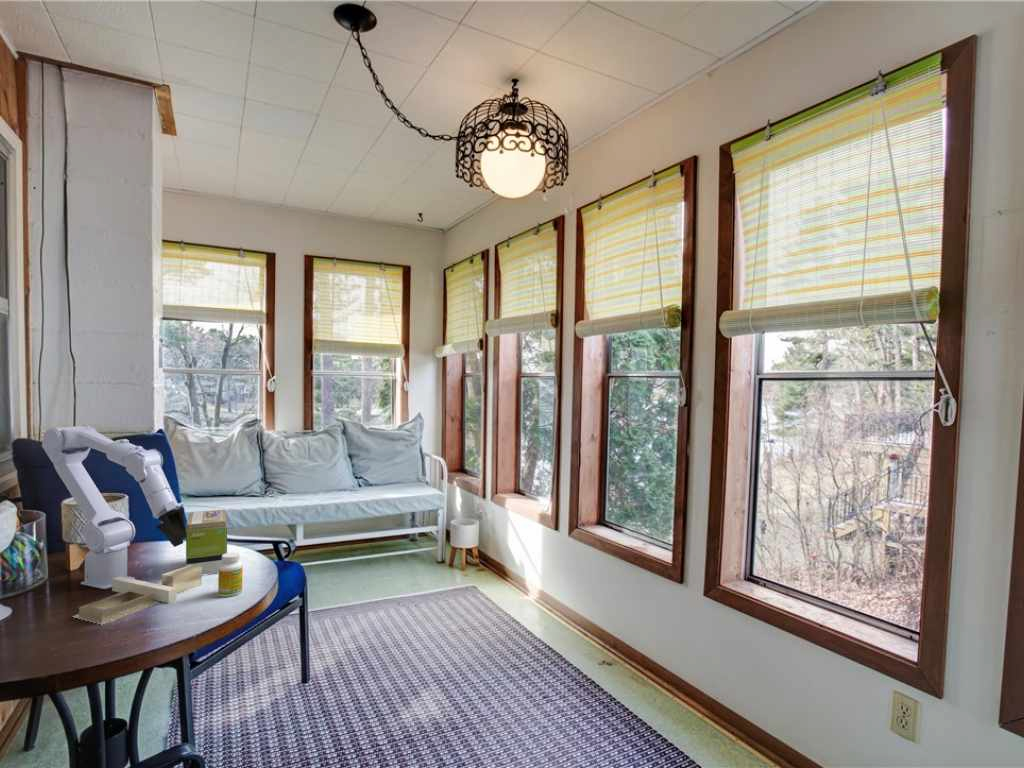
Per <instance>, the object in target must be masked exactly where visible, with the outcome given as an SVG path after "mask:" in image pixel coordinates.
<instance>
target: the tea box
mask: <svg viewBox="0 0 1024 768" xmlns="http://www.w3.org/2000/svg"><path fill="white" fill-rule="evenodd" d="M186 521H187V522H186V524H185V528H186V533H187V538H185V567H186V566H189V565H194V566H200V567H202V574H209V575H211V574H210V573H216V574H219V573H218V572H219V566H220V564H222V563H223V562H222V555H223V554H226V553H228V526H227V525H228V524H227V510H226V509H225V508H224V509H215V510H205V511H195V512H189V513H188V518H187V520H186Z"/></svg>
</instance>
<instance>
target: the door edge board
mask: <svg viewBox="0 0 1024 768" xmlns="http://www.w3.org/2000/svg"><path fill="white" fill-rule="evenodd" d="M128 590H135V591H140V592H145V593H149V594H153V601H156V600H157V601H156V602H160V601H162V602H161V603H165V602H167V603H166V604H171V603H173V602H172V601H174V602H176V601H177V595H176V592H177V588H174V587H169V586H164V585H162V584H158V583H153V582H148V581H144V580H140V579H139V580H138V579H136V578H135V579H130V578H126V577H121V576H120V577H117V578H114V579H112V587H111V592H116V593H122V592H125V591H128ZM175 600H176V601H175ZM170 602H171V603H170Z"/></svg>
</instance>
